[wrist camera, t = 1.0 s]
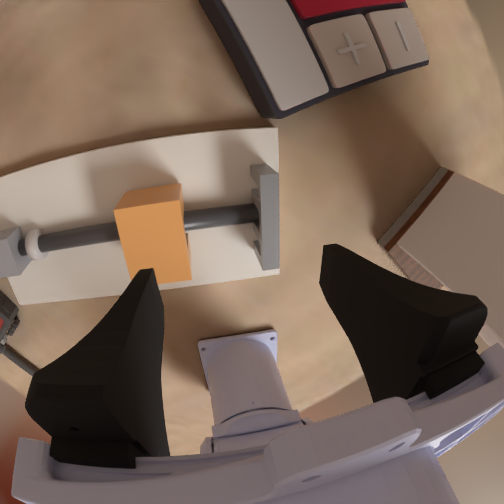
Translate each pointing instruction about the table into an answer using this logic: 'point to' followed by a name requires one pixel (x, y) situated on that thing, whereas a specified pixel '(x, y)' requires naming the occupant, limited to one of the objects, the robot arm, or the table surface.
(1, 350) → the walkie-talkie
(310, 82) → the calculator
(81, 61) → the table surface
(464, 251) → the white box tower
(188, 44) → the table surface
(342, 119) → the table surface
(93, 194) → the board
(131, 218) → the orange block
